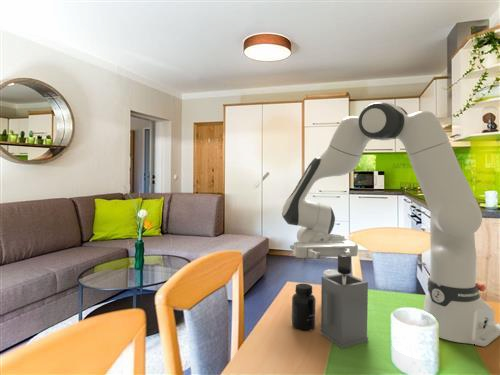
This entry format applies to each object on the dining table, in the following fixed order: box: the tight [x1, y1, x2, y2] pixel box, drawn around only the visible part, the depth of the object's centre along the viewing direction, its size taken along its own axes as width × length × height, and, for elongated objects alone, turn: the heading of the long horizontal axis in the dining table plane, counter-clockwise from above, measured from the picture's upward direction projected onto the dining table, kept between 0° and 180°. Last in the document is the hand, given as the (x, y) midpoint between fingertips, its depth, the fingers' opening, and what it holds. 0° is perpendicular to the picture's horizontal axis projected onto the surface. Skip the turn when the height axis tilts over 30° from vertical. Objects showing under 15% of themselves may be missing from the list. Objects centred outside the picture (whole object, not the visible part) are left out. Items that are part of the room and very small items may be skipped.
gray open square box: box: [319, 274, 369, 350], centre depth 89 cm, size 11×9×16 cm
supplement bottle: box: [291, 283, 316, 332], centre depth 96 cm, size 7×7×12 cm
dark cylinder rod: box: [336, 254, 352, 285], centre depth 89 cm, size 6×6×17 cm
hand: (333, 255), depth 97 cm, fingers open, 8 cm apart
